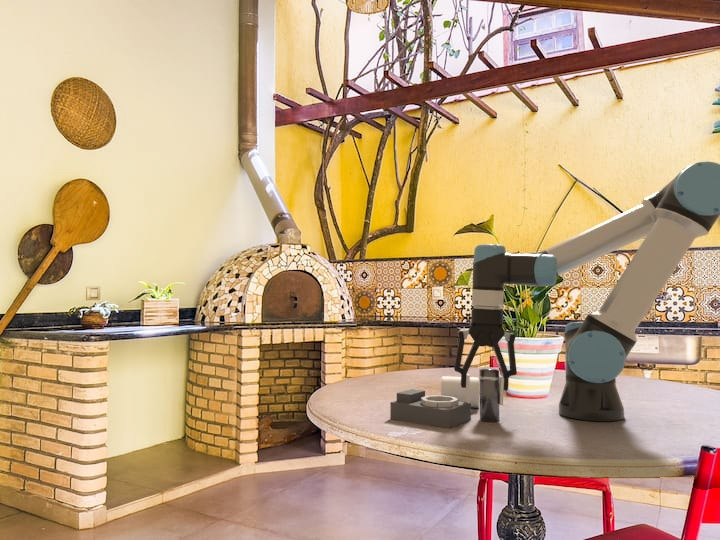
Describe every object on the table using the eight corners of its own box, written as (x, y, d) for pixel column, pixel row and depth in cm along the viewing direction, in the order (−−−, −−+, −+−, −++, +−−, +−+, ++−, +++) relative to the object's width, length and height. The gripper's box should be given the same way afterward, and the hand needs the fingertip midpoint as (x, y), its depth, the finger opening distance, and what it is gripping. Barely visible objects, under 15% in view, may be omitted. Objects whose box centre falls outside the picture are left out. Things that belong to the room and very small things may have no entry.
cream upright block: (479, 410, 146) (479, 379, 146) (440, 409, 148) (440, 378, 148) (478, 401, 158) (478, 373, 158) (443, 400, 160) (443, 372, 160)
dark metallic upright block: (502, 419, 136) (502, 368, 136) (494, 423, 132) (494, 371, 132) (484, 416, 138) (484, 367, 139) (476, 420, 135) (475, 369, 135)
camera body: (470, 419, 135) (470, 394, 136) (449, 428, 127) (449, 401, 127) (414, 411, 145) (413, 387, 145) (390, 418, 136) (390, 393, 136)
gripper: (527, 309, 139) (523, 402, 138) (444, 305, 141) (441, 396, 140) (533, 310, 131) (529, 408, 130) (445, 306, 134) (441, 402, 133)
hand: (483, 402), depth 135 cm, fingers open, 7 cm apart
